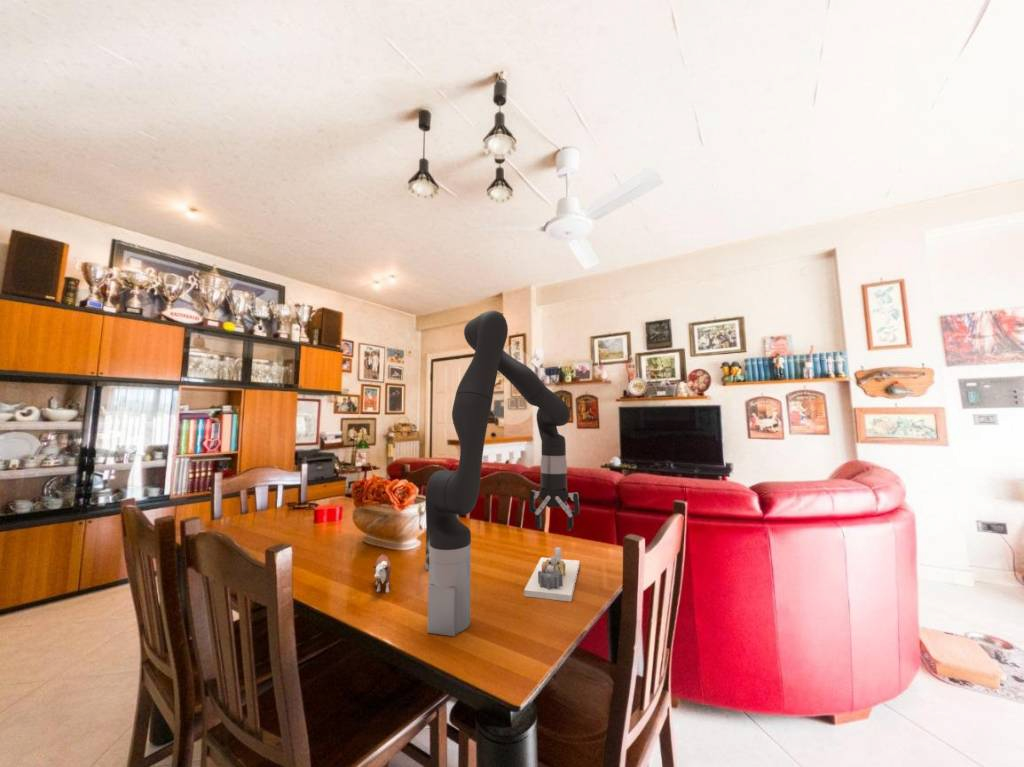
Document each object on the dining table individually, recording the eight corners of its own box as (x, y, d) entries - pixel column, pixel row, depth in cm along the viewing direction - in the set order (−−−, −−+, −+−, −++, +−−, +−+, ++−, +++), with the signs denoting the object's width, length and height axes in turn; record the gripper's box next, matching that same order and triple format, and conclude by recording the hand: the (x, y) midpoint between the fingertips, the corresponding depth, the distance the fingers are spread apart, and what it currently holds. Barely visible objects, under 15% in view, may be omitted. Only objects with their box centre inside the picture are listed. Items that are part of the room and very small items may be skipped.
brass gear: (564, 579, 103) (563, 568, 103) (540, 577, 105) (540, 566, 105) (566, 570, 109) (566, 559, 110) (545, 568, 111) (544, 558, 111)
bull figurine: (371, 601, 95) (372, 567, 95) (375, 579, 108) (376, 549, 108) (389, 599, 96) (390, 565, 97) (391, 577, 109) (392, 548, 110)
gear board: (571, 601, 94) (570, 574, 94) (524, 596, 97) (523, 569, 97) (579, 565, 117) (579, 544, 118) (541, 562, 120) (540, 541, 121)
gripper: (526, 471, 108) (526, 530, 106) (577, 473, 104) (578, 534, 102) (532, 468, 115) (532, 524, 113) (579, 470, 111) (580, 527, 110)
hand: (554, 529), depth 108 cm, fingers open, 8 cm apart
